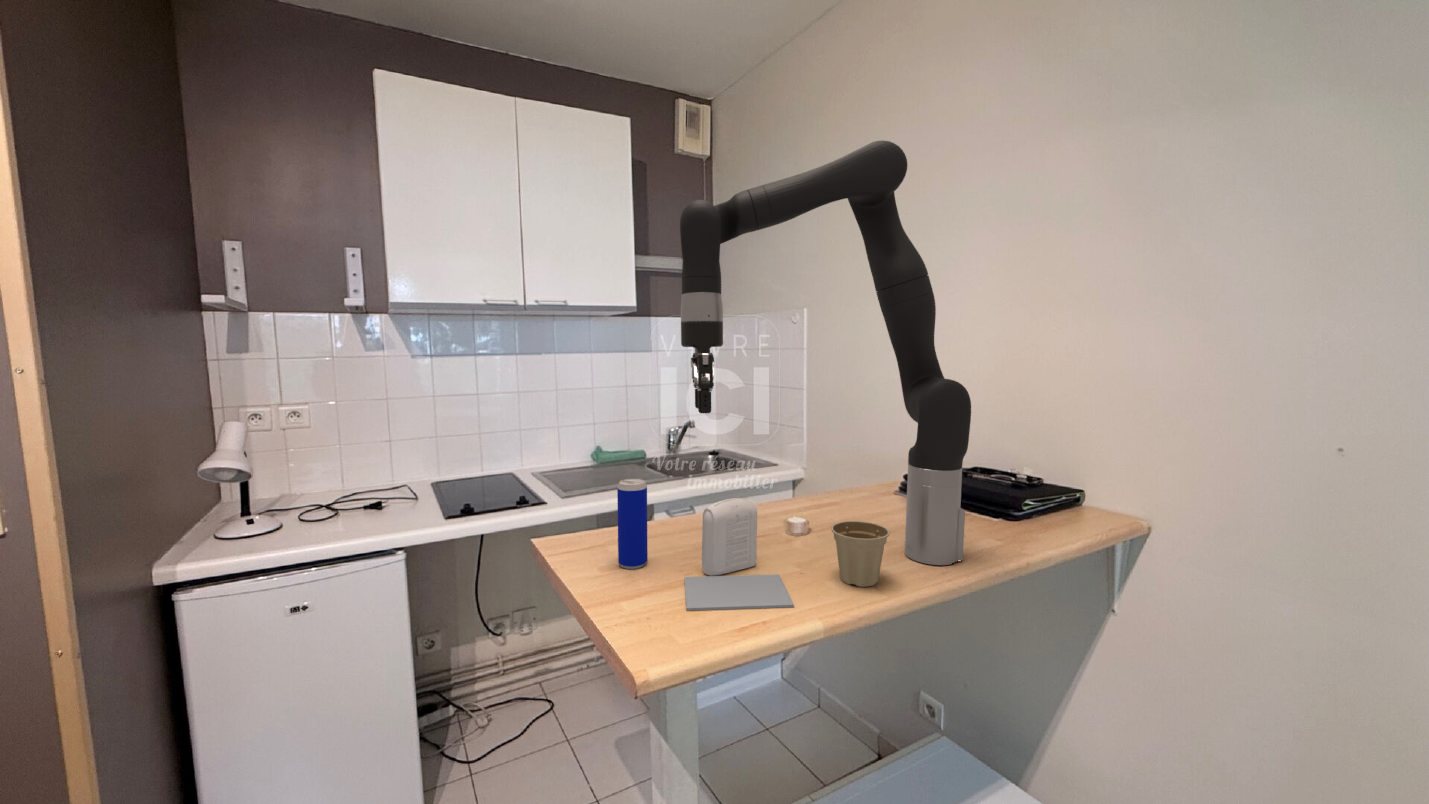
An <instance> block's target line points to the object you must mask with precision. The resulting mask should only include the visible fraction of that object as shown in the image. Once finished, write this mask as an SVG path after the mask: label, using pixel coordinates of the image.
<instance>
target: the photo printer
mask: <svg viewBox="0 0 1429 804" xmlns="http://www.w3.org/2000/svg"><path fill="white" fill-rule="evenodd" d="M701 529H702V535H701V536H702V538H701V540H702V541H701V545H702V546H701V567H702V572H703V573H704V574H705V575H707V576H722V575H724V574H729V573H733V572H736V571H740V570H744V569H748V568H752V567H754V566H756V564H757V554H758V553H757V545H758V542H757V539H758V507H757V506H756V504H755V502H754V501H752V500H750V499H747V498H741V497H739V498H738V497H735V498H732V497H731V498H727V499H722V500H720V501H717V502H715V503H712V504H710V505H709V506H707V507H706V508H705V509H703V512H702V528H701Z"/></svg>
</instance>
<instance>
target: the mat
mask: <svg viewBox="0 0 1429 804" xmlns="http://www.w3.org/2000/svg"><path fill="white" fill-rule="evenodd" d="M684 591H685V592H684V594H685V605H686V606H685V611H687V612H690V611H691V612H692V611H695V612H696V611H718V610H719V611H721V610H722V611H723V610H746V609H747V610H748V609H749V610H750V609H751V610H753V609H754V610H755V609H779V608H780V609H785V608H795V604H794V601H793V600H792V598H791V596H790V594H789V592H788V589H787V588H786V585H785V583H784V582H783V579H782V577H781V575H780V574H779V573H778V574H776V573H775V574H749V575H748V574H747V575H745V574H744V575H739V574H738V575H715V576H709V575H707V576H684Z"/></svg>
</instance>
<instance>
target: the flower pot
mask: <svg viewBox="0 0 1429 804" xmlns="http://www.w3.org/2000/svg"><path fill="white" fill-rule="evenodd" d="M830 530H831V532H832V533H833V534H832V535H833V538H834V539H833V540H834V541H835V545H836V553H837V555H836V556H837V562H838V563H837V564H838V570H839V572H838V573H839V578H840V581H842V582H843V583H845V584H846V585H856V586H857V587H860V588H861V587H863V588H864V587H865V588H866V587H867V588H868V587H873V586H876V585H877V583H878V582H879V578H880V571H881V566H882V560H883V555H884V549H885V548H884V547H885V545H886V543H887V540H888V537H890V535H891V533H890V532H891V531H890V530H889V529H888V528H887V527H885V526H883V525H880V524H878V523H873V522H870V521H869V522H868V521H863V520H862V521H860V520H843V521H840V522H835V523H833V524H832V525H831V527H830Z"/></svg>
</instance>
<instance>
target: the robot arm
mask: <svg viewBox="0 0 1429 804" xmlns="http://www.w3.org/2000/svg"><path fill="white" fill-rule="evenodd" d="M907 171H908V159H907V156H906V154H905V152H904V150H903V149H902V148H901V147H900V146H899V145H898V144H896V143H895V142H892V141H890V140H875V141H872V142H870V143H868V144H866V145H864V146H861V147H860V148H857V149H856V150H854V151H852V152H850V153H848V154H846V155H844V156H842V157H840V158H837V159H835V160H833V161H830V162H828V163H826V164H823V165H821V166H819V167H816V168H813V169H810V170H807V171H805V172H801V173H797V174H795V175H792V176H788V177H786V178H782V179H778V180H776V181H772V182H769V183H764V184H762V185H758V186H756V187H752V188H749V189H748V188H747V189H744V190H742V191H739V192H737V193H736V194H734V195H733V196H731V198H730V199H728V200H727V201H724V202H721V203H718V204H716V205H715V204H712V203H711V202H709V201H708V200H704V199H696V200H693V201H690V203H688V204H687V205H686V206H685V207H684V208H683V210H682V212H681V214H680V218H679V232H680V233H679V235H680V246H681V249H680V250H681V257H682V267H681V302H680V343H681V345H680V346H682V347H683V348H694V352H693V354H692V357H691V358H690V367H691V379H692V383H693V388H694V407H695V409H698V412H699V414H710V413H712V392H713V390H714V389H713V388H714V386H715V383H714V378H715V372H714V367H715V357H714V354H713V352H711V348H721V347H723V345H724V311H723V310H724V308H723V307H724V306H723V300H722V271H721V262H720V256H721V255H720V254H721V244H724V243H727V242H728V241H730V240H734V239H735V238H738V237H741V236H742V235H745V234H748V233H753V232H756V231H760V230H764V229H768V228H770V227H773V226H777V225H779V224H783V223H785V222H787V221H791V220H792V219H795V218H798V217H799V216H801V215H804V214H807V213H808V212H810V211H813V210H815V209H817V208H820V207H823V206H826V205H828V204H831V203H834V202H837V201H840V200H844V199H847V200H848V203H849V206H850V208H851V210H852V213H853V216H854V218H855V220H856V223H857V225H858V228H859V230H860V233H861V237H862V239H863V244H864V248H865V253H866V257H867V261H868V264H869V269H870V273H871V277H872V280H873V284H874V288H875V292H876V297H877V300H878V303H879V306H880V310H881V314H882V316H883V319H884V320H883V321H885V322H884V323H885V326H886V330H887V333H888V338H889V340H890V343H891V346H892V349H893V351H894V354H895V358H896V362H897V367H898V372H899V373H898V374H899V377H900V378H899V379H900V385H901V390H902V398H903V403H904V406H905V407H904V408H905V410H906V413H907V414H908V416H909V417H910V418H911V419H912V420H913V421H914V422H916V423H917V429H916V430H917V432H916V441H915V443H914V445H913V446H912V447H910V448H909V451H908V454H907V455H908V456H907V457H908V459H907V484H906V485H907V486H906V507H905V511H906V513H905V531H904V532H905V535H904V555H905V556H906V557H907V558H909V559H911V560H913V561H915V562H918V563H922V564H924V565H925V564H927V565H933V566H948V565H953V564H952V563H954V562H956V561H958V560H962V559H963V560H964V543H965V542H964V541H965V524H966V523H965V522H966V521H965V520H966V510H965V509H963V508H962V507H961V502H962V501H961V500H962V481H963V464H964V463H963V462H964V457H965V456H966V454H967V451H968V448H969V442H970V441H969V440H970V433H971V432H970V431H971V421H972V420H971V419H972V418H971V416H972V401H971V396H970V393H969V391H968V390H967V388H966V387H965V386H964V385H963V384H962V383H960V382H958V381H956V380H954V379H951V378H950V379H949V378H945V376H944V374H943V371H942V369H941V365H940V363H939V360H938V355H937V352H936V347H935V331H936V330H935V329H936V327H935V326H936V314H937V310H936V307H937V306H936V299H935V293H934V290H933V286H932V283H931V279H930V276H929V272H928V268H927V266H926V264H925V261H924V259H923V258H922V256H921V254H920V252H919V251H918V250H917V248H916V247H915V245H914V244H913V242H912V241H911V239H910V237H909V236H908V235H907V233H906V231H905V229H904V228H903V225H902V222H901V218H900V213H899V210H898V205H897V201H896V195H895V192H896V191H897V189H899V187H900V185H901V184H902V183H903V181H904V180H905V178H906V176H907V175H906V174H907ZM958 562H959V561H958ZM956 563H957V562H956ZM954 564H955V563H954Z"/></svg>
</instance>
